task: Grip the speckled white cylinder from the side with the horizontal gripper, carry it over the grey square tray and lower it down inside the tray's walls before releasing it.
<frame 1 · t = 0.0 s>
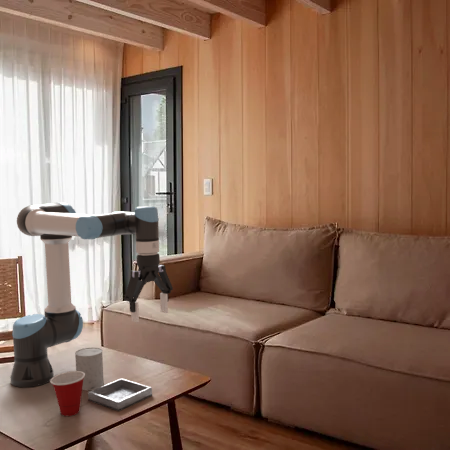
hand: (150, 316, 189), 28 cm above the table, tool pointing down, fingers open, 13 cm apart
grey square tray: (120, 398, 192), on the table
speckled white cylinder: (90, 385, 205), on the table
plastic cup: (69, 413, 182), on the table
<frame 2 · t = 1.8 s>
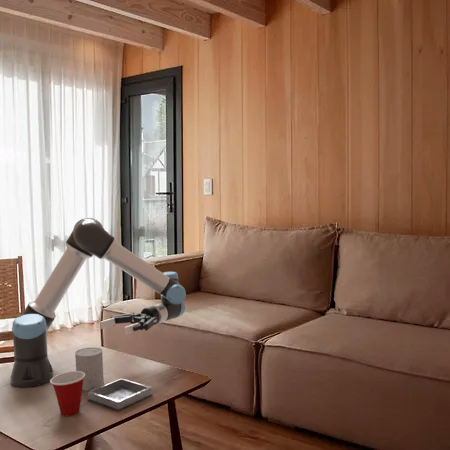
hand: (112, 328, 212), 18 cm above the table, tool horizontal, fingers open, 13 cm apart
nothing on the table moved.
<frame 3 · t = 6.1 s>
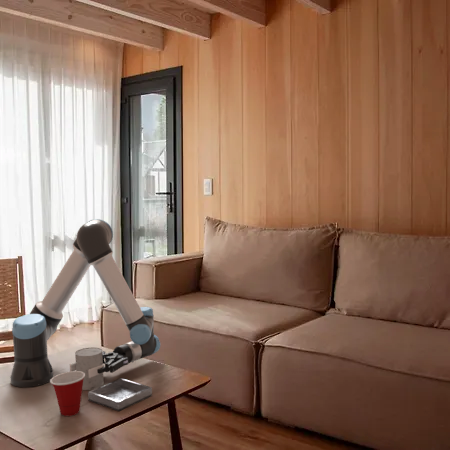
hand: (79, 370, 201), 7 cm above the table, tool horizontal, fingers closed on speckled white cylinder, 9 cm apart
speckled white cylinder: (90, 385, 205), on the table, touching gripper
everything else where it was.
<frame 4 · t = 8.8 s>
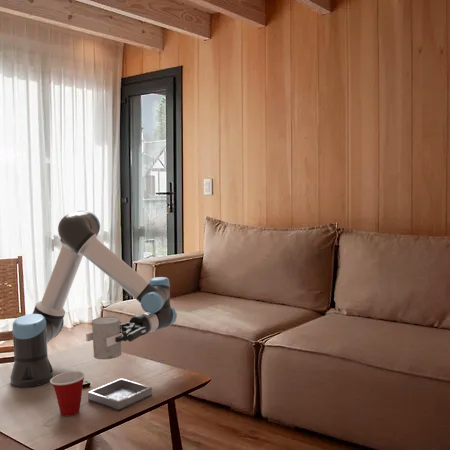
hand: (96, 339, 193), 19 cm above the table, tool horizontal, fingers closed on speckled white cylinder, 9 cm apart
speckled white cylinder: (107, 355, 198), point 13 cm above the table, touching gripper
everything else where it was.
when the fingers open (9 cm above the table, at t = 11.8 s): speckled white cylinder drops 1 cm, resting on grey square tray.
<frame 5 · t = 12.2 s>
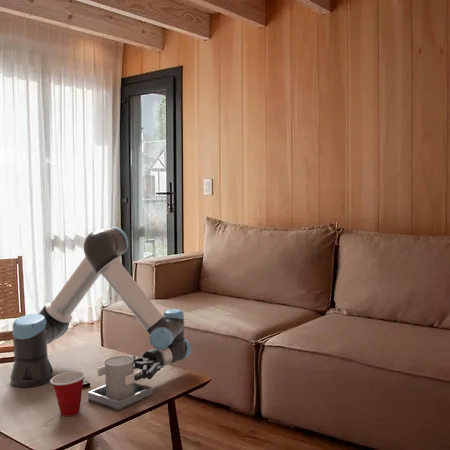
hand: (111, 376, 189), 9 cm above the table, tool horizontal, fingers open, 13 cm apart
speckled white cylinder: (120, 396, 192), resting on grey square tray
everything else where it was.
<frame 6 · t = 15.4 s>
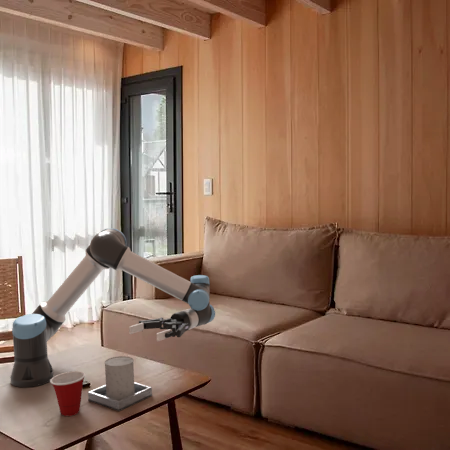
hand: (143, 333, 199), 19 cm above the table, tool horizontal, fingers open, 13 cm apart
nothing on the table moved.
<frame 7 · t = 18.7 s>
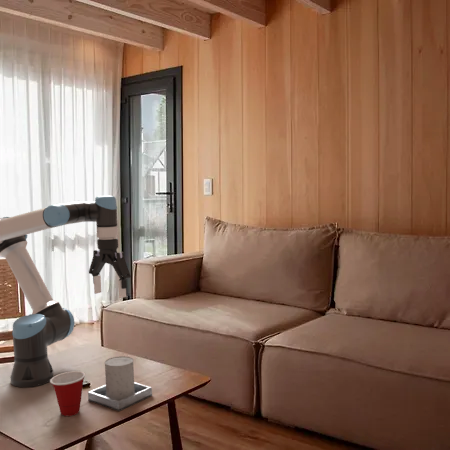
hand: (110, 295, 210), 31 cm above the table, tool pointing down, fingers open, 13 cm apart
nothing on the table moved.
at the end: speckled white cylinder 0.1 cm off-centre on the grey square tray, point 0.4 cm above the grey square tray's base; speckled white cylinder tilted 0°; the gripper is holding nothing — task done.
